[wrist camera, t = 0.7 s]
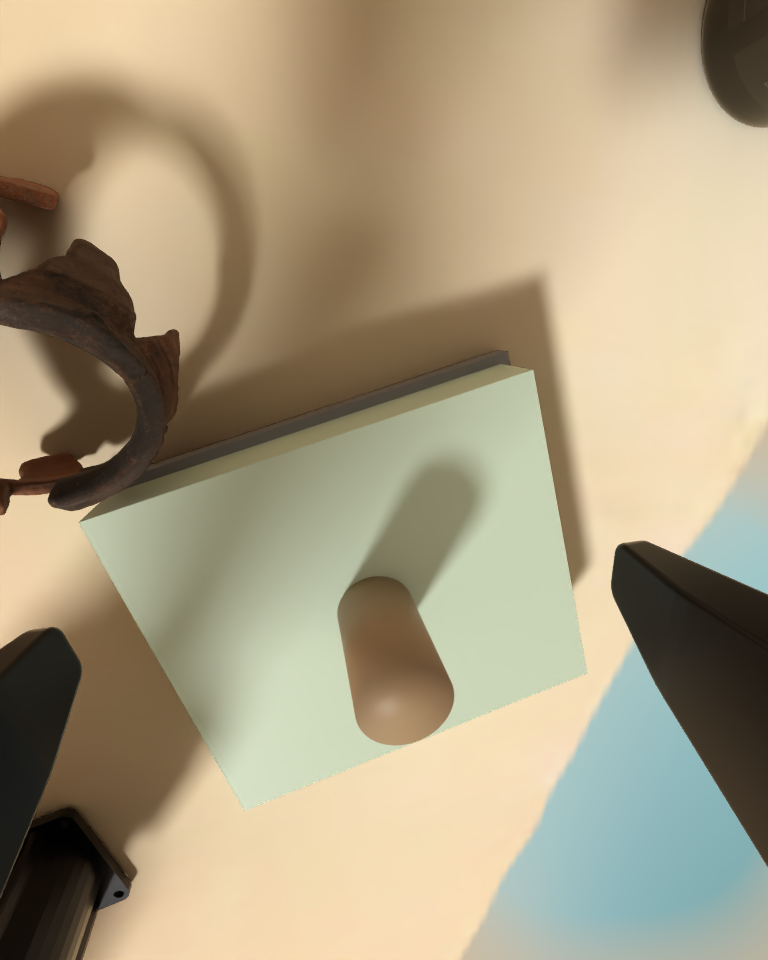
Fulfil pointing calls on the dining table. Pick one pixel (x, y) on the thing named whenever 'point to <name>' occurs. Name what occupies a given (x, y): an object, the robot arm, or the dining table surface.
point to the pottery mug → (102, 332)
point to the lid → (353, 580)
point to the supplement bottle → (737, 57)
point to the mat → (321, 416)
